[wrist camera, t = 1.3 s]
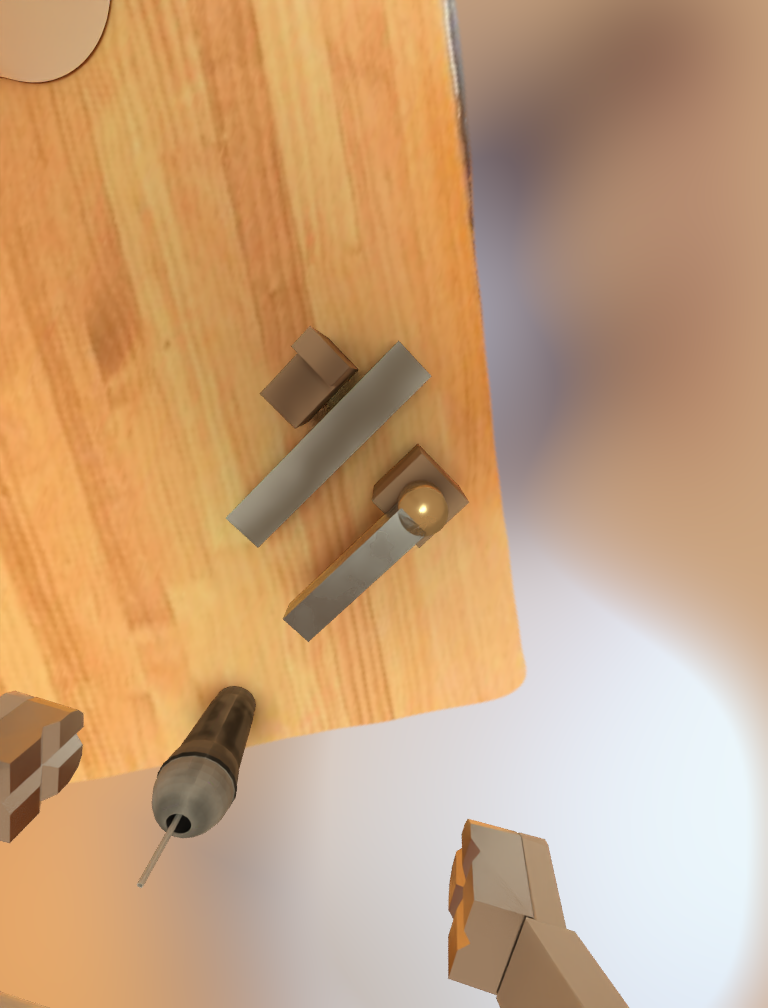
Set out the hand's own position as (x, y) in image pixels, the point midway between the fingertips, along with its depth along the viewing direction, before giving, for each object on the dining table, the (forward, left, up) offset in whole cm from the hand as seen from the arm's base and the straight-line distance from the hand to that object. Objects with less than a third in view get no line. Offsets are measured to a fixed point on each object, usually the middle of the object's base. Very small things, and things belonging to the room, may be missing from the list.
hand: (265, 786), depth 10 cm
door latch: (-1, -1, -40) cm, 40 cm away
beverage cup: (+9, -30, -40) cm, 51 cm away
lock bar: (+5, -4, -33) cm, 33 cm away
